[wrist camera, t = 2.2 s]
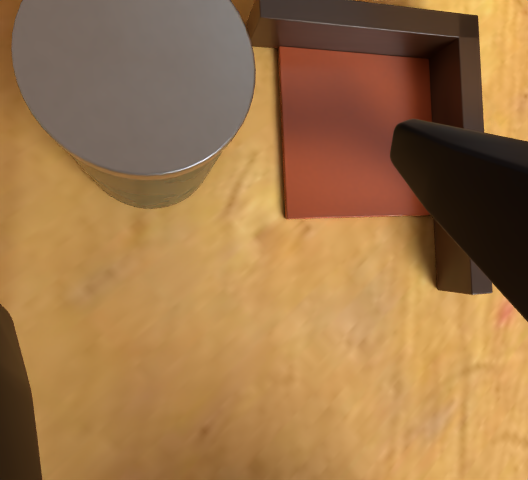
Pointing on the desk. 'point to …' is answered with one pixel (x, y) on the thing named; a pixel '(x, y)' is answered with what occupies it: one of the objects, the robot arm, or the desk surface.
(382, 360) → the desk surface
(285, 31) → the corner rail
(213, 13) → the tea tin
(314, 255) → the desk surface
